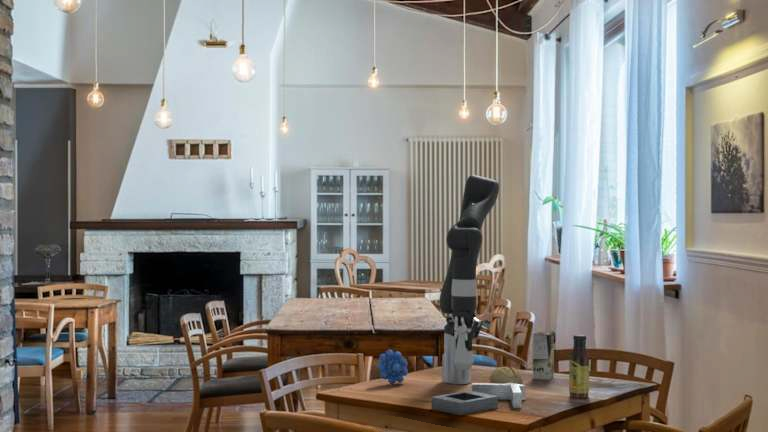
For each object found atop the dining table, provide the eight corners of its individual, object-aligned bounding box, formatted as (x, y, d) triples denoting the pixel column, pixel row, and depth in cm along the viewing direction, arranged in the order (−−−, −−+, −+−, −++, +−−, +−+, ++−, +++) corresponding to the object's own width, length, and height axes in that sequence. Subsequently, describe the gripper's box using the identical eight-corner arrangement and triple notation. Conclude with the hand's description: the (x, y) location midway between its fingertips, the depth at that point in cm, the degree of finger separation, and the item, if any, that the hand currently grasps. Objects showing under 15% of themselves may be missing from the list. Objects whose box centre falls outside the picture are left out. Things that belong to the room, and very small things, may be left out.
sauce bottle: (566, 394, 270) (566, 333, 270) (585, 394, 270) (585, 333, 270) (572, 399, 263) (572, 336, 263) (592, 398, 264) (591, 335, 264)
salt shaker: (472, 371, 246) (472, 327, 246) (453, 370, 247) (453, 326, 247) (474, 367, 251) (474, 324, 251) (455, 366, 252) (455, 324, 253)
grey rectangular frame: (431, 408, 248) (431, 396, 248) (469, 401, 258) (469, 390, 258) (460, 415, 239) (460, 403, 239) (497, 407, 249) (497, 396, 249)
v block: (517, 408, 248) (517, 393, 249) (468, 397, 264) (468, 383, 264) (543, 403, 256) (543, 388, 256) (494, 393, 272) (494, 379, 272)
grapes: (382, 387, 282) (382, 352, 282) (374, 384, 288) (374, 349, 288) (413, 384, 287) (413, 350, 287) (404, 381, 293) (404, 347, 293)
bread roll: (509, 386, 285) (509, 362, 286) (529, 394, 271) (529, 369, 271) (483, 387, 283) (483, 364, 283) (502, 395, 268) (502, 371, 268)
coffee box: (550, 380, 296) (550, 335, 297) (532, 379, 298) (532, 334, 299) (554, 376, 305) (554, 332, 305) (536, 375, 307) (536, 331, 307)
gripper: (490, 295, 246) (489, 353, 246) (456, 292, 257) (456, 347, 257) (472, 296, 241) (471, 356, 241) (438, 293, 252) (438, 350, 252)
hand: (463, 351), depth 249 cm, fingers closed on salt shaker, 3 cm apart
